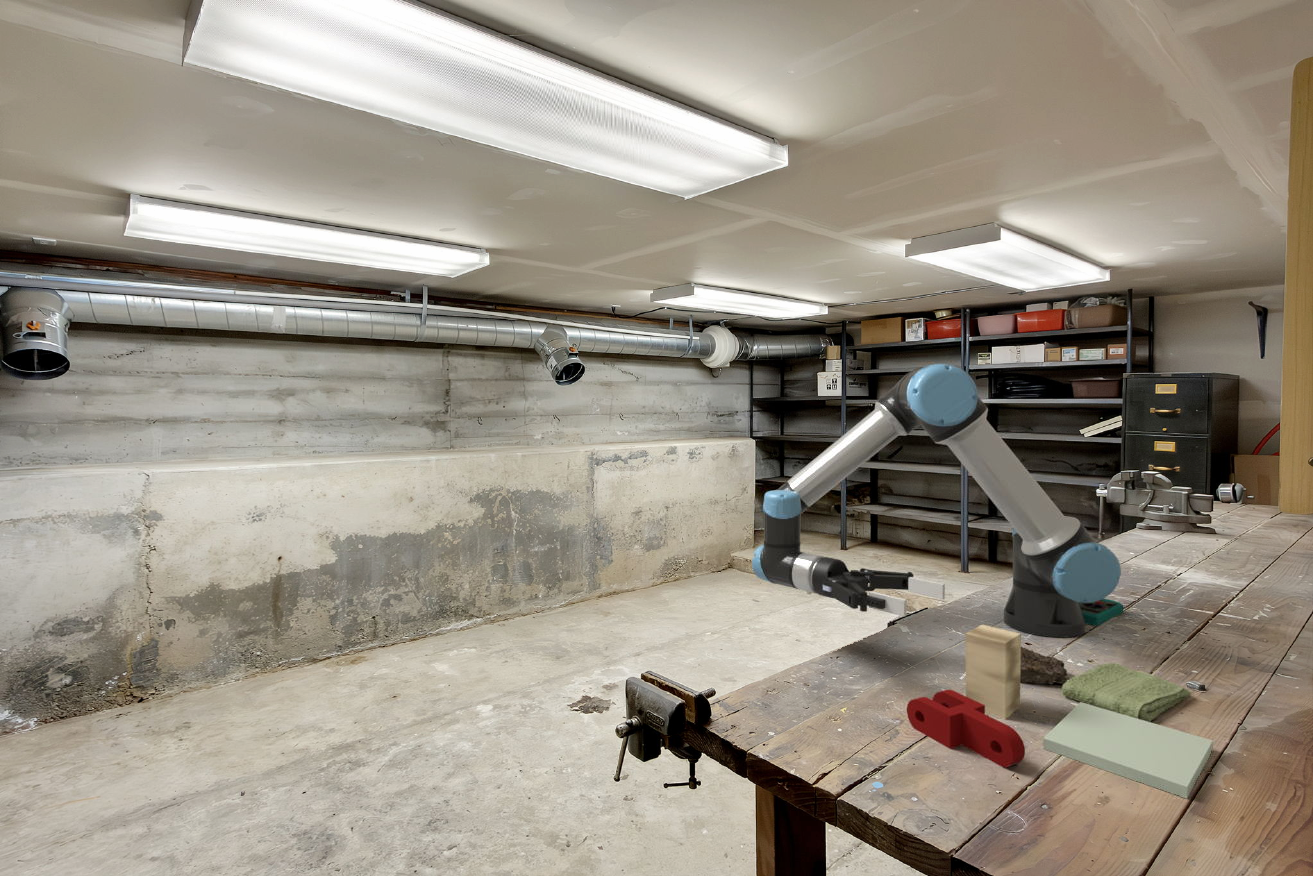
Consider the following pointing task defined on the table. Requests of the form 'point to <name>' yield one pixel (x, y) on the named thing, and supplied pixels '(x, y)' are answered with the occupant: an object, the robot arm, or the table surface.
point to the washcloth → (1124, 691)
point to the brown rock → (1041, 668)
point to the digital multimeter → (1100, 611)
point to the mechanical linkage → (965, 727)
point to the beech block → (994, 669)
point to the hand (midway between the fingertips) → (925, 599)
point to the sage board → (1131, 748)
